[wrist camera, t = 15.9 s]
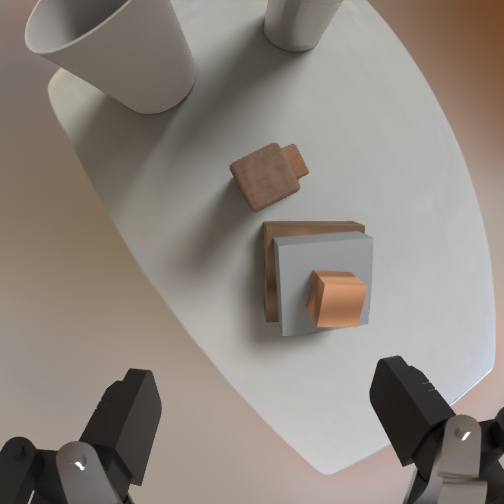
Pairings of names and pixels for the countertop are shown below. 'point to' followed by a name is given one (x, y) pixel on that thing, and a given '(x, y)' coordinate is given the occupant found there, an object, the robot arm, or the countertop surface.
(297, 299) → the tower top block
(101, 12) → the cylinder vase
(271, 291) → the tower base block
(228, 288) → the countertop surface
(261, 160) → the wooden block
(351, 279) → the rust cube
